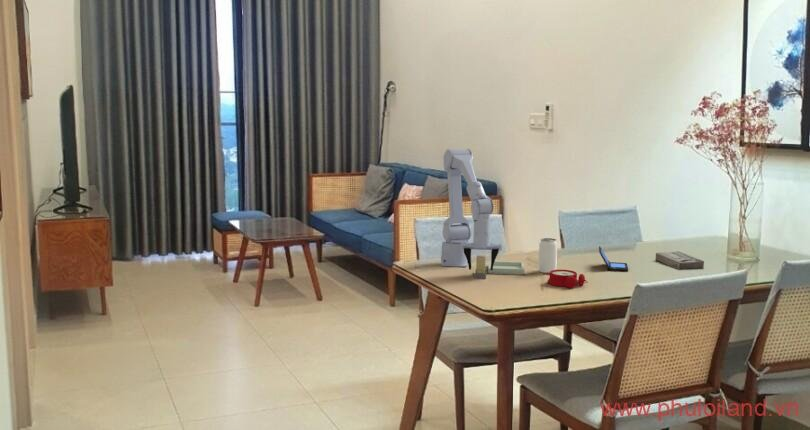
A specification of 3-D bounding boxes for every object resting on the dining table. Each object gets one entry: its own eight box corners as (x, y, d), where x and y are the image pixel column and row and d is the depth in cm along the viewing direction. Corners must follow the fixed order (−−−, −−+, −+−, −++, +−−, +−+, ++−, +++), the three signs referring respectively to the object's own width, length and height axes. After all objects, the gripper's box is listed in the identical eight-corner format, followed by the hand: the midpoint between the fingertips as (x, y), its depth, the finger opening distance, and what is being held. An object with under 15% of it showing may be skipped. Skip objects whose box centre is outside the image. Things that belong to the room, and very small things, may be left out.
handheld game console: (628, 272, 287) (629, 252, 286) (598, 271, 289) (599, 251, 288) (627, 265, 299) (628, 246, 298) (598, 264, 301) (598, 245, 300)
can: (557, 270, 289) (558, 238, 287) (554, 274, 283) (556, 241, 281) (540, 269, 291) (541, 237, 289) (537, 272, 285) (538, 240, 283)
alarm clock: (558, 268, 276) (592, 266, 264) (560, 285, 276) (595, 284, 264) (539, 272, 269) (573, 270, 258) (541, 290, 269) (576, 289, 258)
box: (678, 258, 311) (678, 250, 310) (704, 268, 294) (704, 260, 293) (654, 260, 308) (654, 252, 308) (679, 270, 292) (679, 262, 291)
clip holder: (474, 278, 275) (474, 271, 275) (475, 272, 284) (475, 266, 283) (485, 278, 275) (485, 271, 274) (486, 273, 283) (486, 266, 283)
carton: (476, 277, 277) (476, 257, 276) (476, 274, 282) (477, 254, 281) (484, 277, 277) (484, 257, 276) (485, 274, 281) (485, 254, 280)
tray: (488, 273, 283) (488, 268, 282) (489, 265, 296) (489, 260, 295) (524, 274, 281) (524, 269, 281) (523, 267, 294) (524, 262, 293)
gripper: (460, 233, 274) (459, 271, 276) (501, 234, 272) (500, 272, 274) (461, 230, 281) (461, 266, 283) (502, 231, 279) (501, 268, 281)
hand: (480, 269), depth 279 cm, fingers open, 7 cm apart
